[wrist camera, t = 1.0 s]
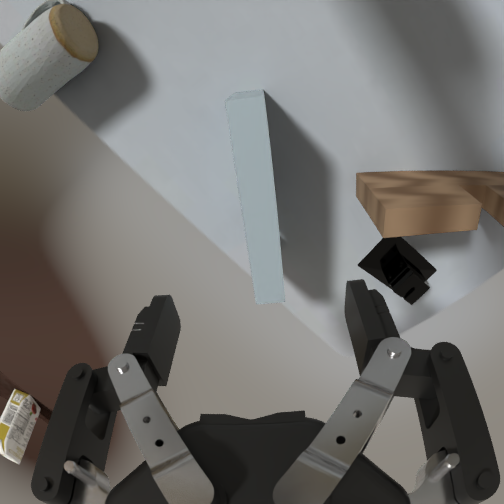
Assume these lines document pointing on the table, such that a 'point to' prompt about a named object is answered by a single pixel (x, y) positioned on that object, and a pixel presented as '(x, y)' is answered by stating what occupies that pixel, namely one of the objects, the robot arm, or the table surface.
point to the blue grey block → (256, 192)
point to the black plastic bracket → (399, 268)
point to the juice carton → (17, 425)
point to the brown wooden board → (429, 200)
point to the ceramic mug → (46, 54)
